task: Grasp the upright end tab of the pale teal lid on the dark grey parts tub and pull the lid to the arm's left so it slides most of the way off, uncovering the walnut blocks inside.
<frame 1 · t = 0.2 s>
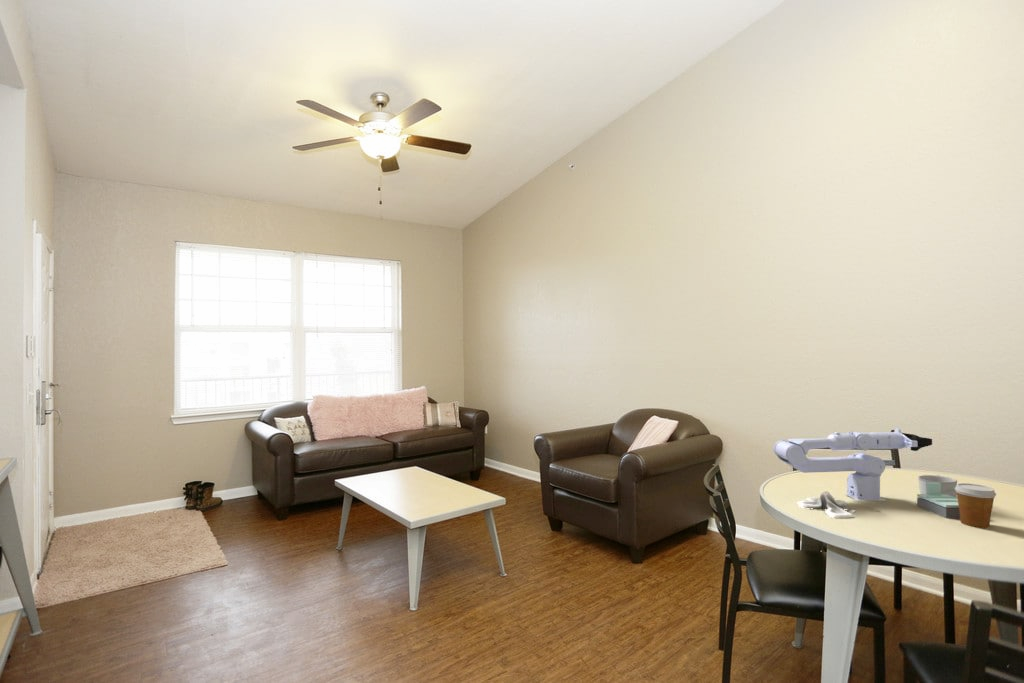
hand: (923, 439, 188), 21 cm above the table, tool horizontal, fingers open, 7 cm apart
lid: (946, 494, 173), point 6 cm above the table, slide at 0.0 cm
disposable coffee cup: (974, 527, 161), on the table
tub: (946, 513, 173), on the table
cloth: (829, 510, 178), on the table
walnut block b: (941, 509, 175), point 1 cm above the table, touching tub
walnut block a: (954, 514, 170), point 1 cm above the table, touching tub
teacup: (938, 500, 188), on the table
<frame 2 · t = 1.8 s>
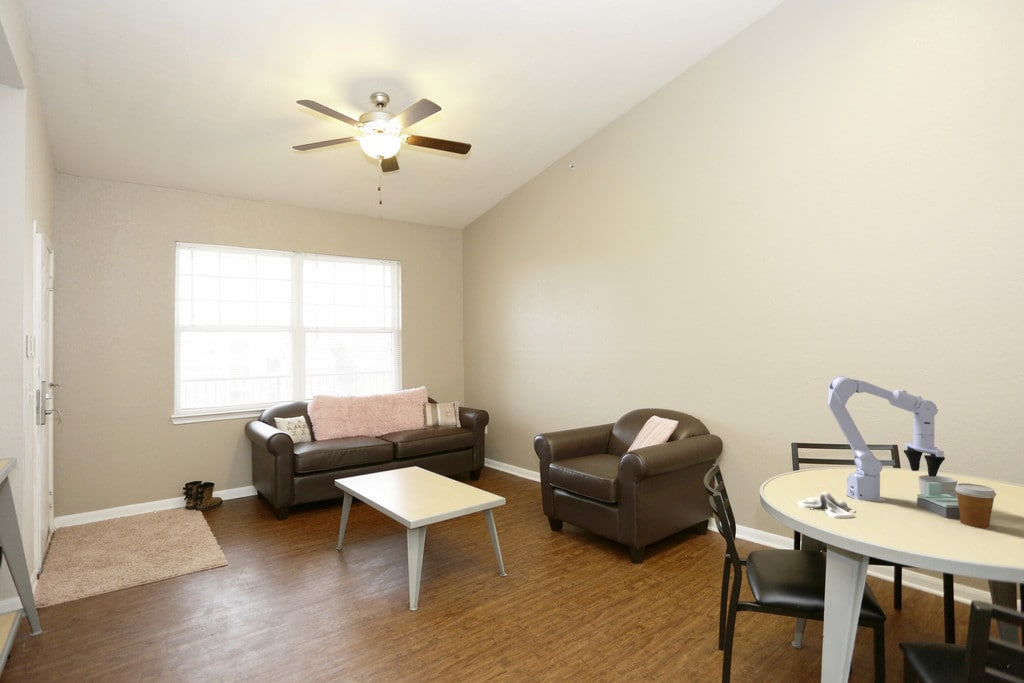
hand: (923, 473, 183), 10 cm above the table, tool pointing down, fingers open, 7 cm apart
nothing on the table moved.
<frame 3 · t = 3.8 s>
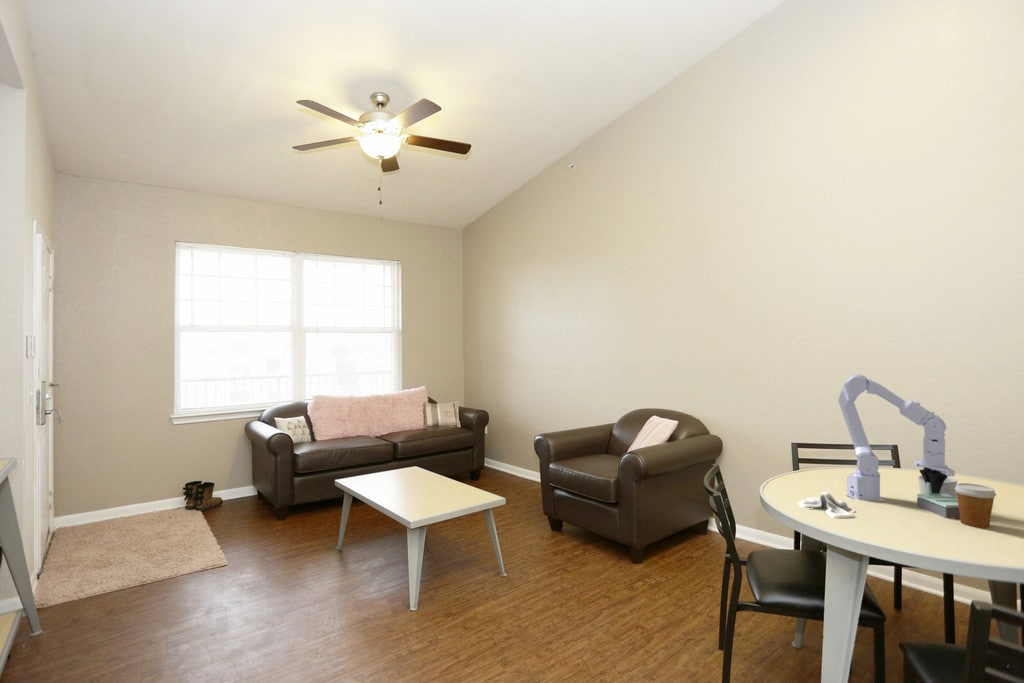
hand: (933, 492, 178), 5 cm above the table, tool pointing down, fingers closed on lid
lid: (946, 494, 173), point 6 cm above the table, slide at 0.0 cm, touching gripper
everything else where it was.
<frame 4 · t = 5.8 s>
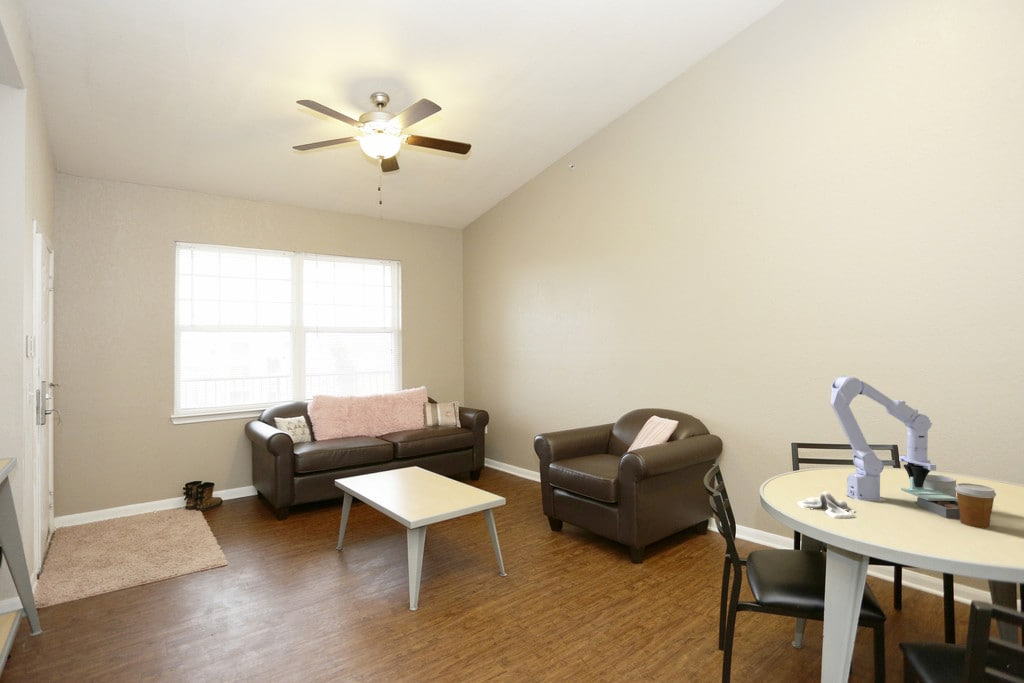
hand: (916, 486, 185), 5 cm above the table, tool pointing down, fingers closed on lid
lid: (928, 488, 180), point 6 cm above the table, slide at 7.4 cm, touching gripper, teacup
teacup: (938, 499, 189), on the table, touching lid
everything else where it was.
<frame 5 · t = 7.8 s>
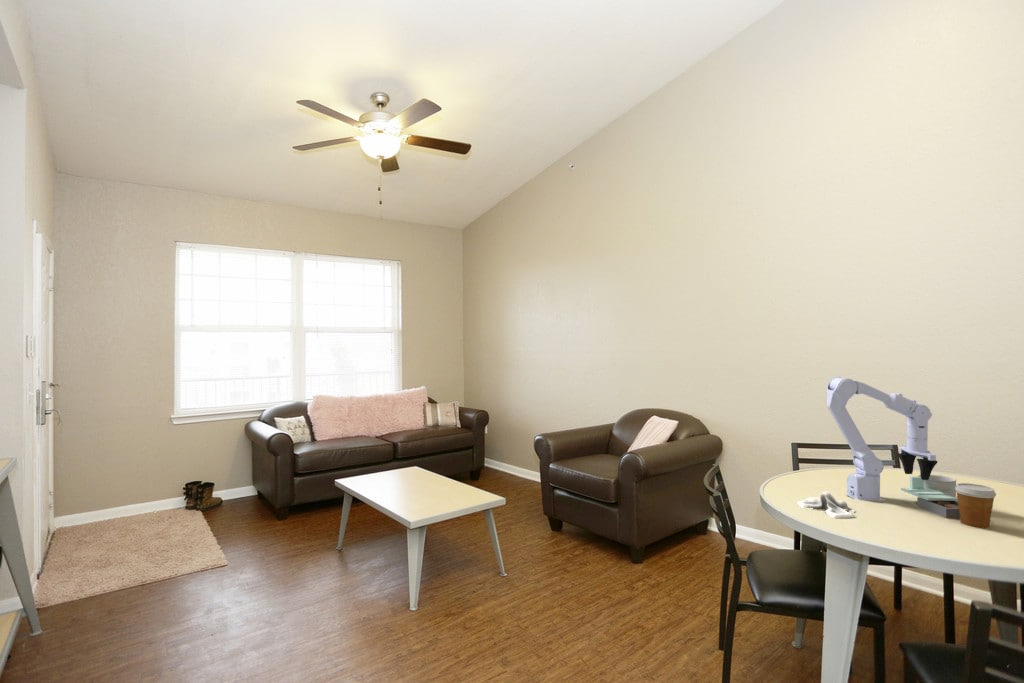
hand: (916, 476, 185), 9 cm above the table, tool pointing down, fingers open, 7 cm apart
lid: (928, 488, 180), point 6 cm above the table, slide at 7.5 cm
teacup: (938, 499, 189), on the table
everything else where it was.
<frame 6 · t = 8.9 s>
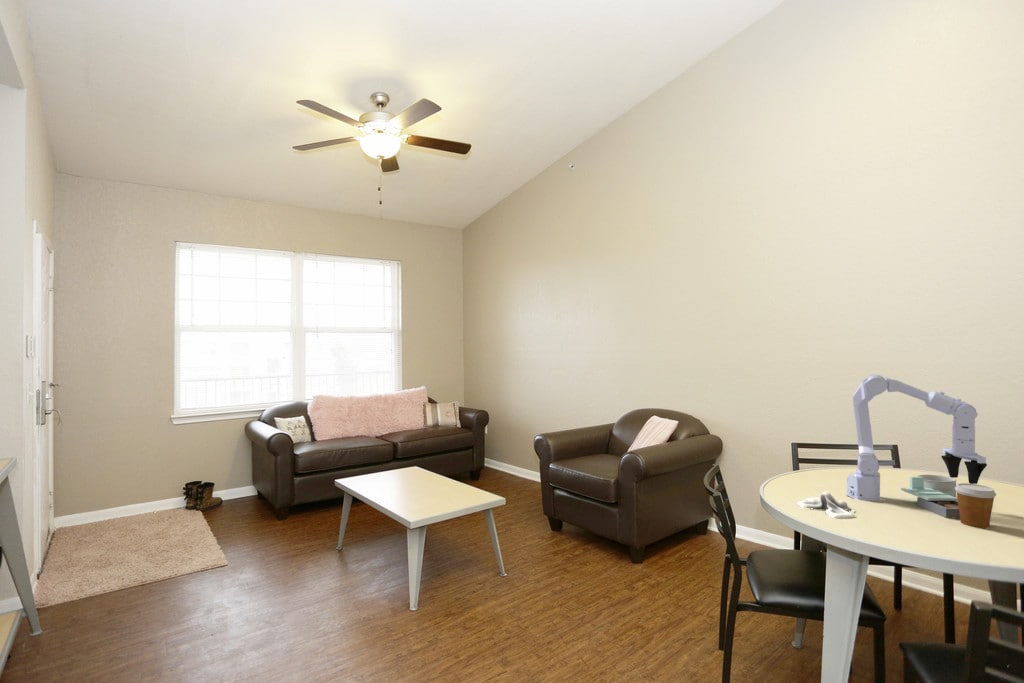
hand: (963, 480, 174), 10 cm above the table, tool pointing down, fingers open, 7 cm apart
nothing on the table moved.
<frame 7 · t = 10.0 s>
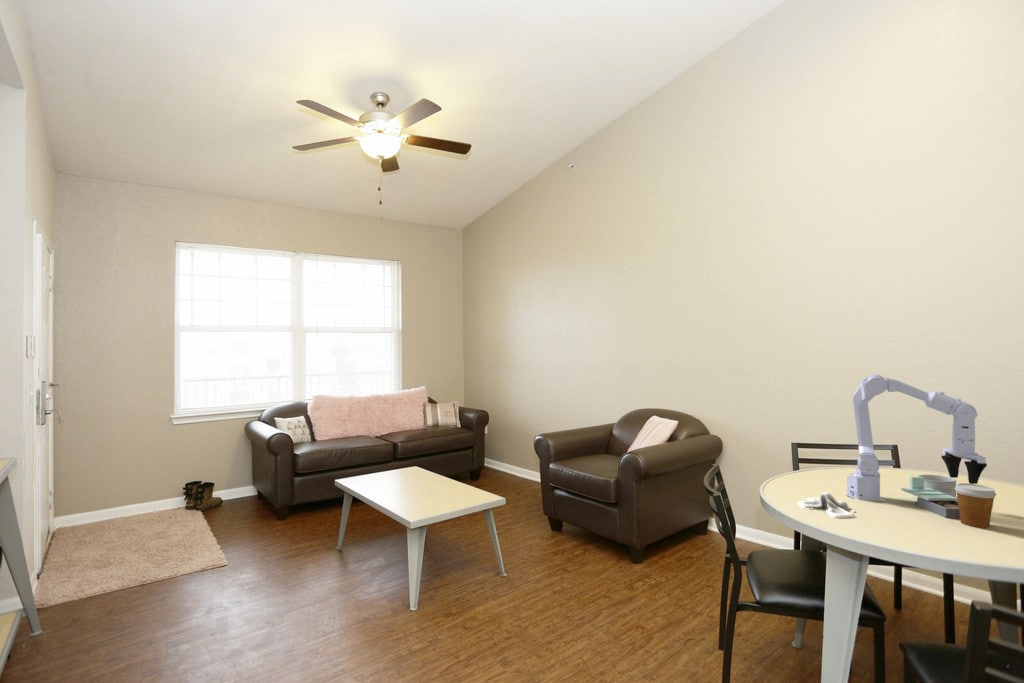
hand: (963, 480, 174), 10 cm above the table, tool pointing down, fingers open, 7 cm apart
nothing on the table moved.
at the end: lid slide at 7.5 cm; the gripper is holding nothing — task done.
